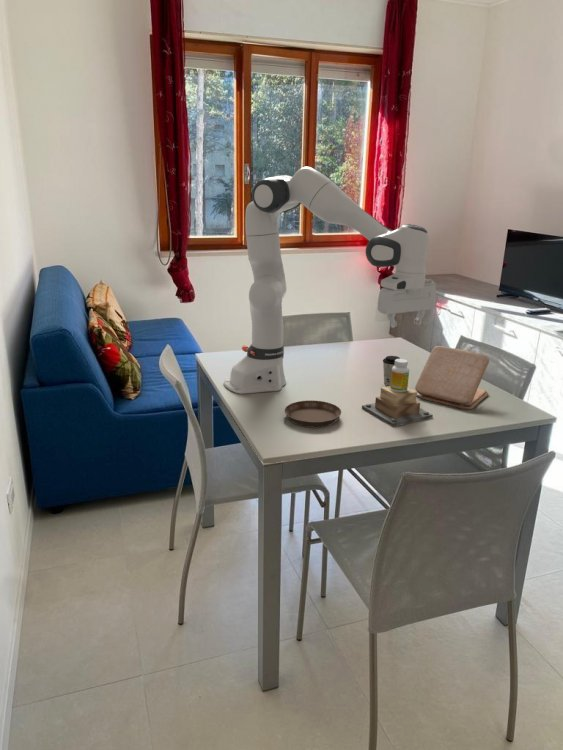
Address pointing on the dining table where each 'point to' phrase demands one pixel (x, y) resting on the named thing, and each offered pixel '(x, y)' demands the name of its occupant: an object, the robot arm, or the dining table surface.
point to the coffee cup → (388, 368)
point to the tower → (397, 407)
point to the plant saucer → (312, 413)
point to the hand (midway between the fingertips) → (405, 325)
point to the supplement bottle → (400, 376)
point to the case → (453, 377)
